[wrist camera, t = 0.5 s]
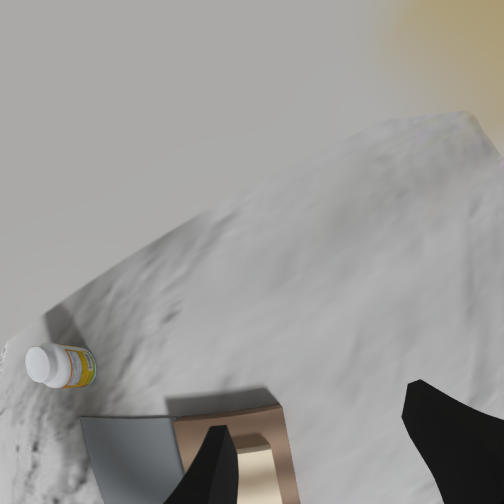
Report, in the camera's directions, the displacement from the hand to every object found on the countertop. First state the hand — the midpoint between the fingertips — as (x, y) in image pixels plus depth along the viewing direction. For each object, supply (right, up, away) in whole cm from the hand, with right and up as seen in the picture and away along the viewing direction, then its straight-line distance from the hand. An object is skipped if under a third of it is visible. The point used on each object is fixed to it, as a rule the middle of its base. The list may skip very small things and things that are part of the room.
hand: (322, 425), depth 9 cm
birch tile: (-3, -18, +15) cm, 24 cm away
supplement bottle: (-25, -9, +22) cm, 35 cm away
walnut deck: (-4, -19, +18) cm, 27 cm away
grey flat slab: (-17, -21, +17) cm, 32 cm away
